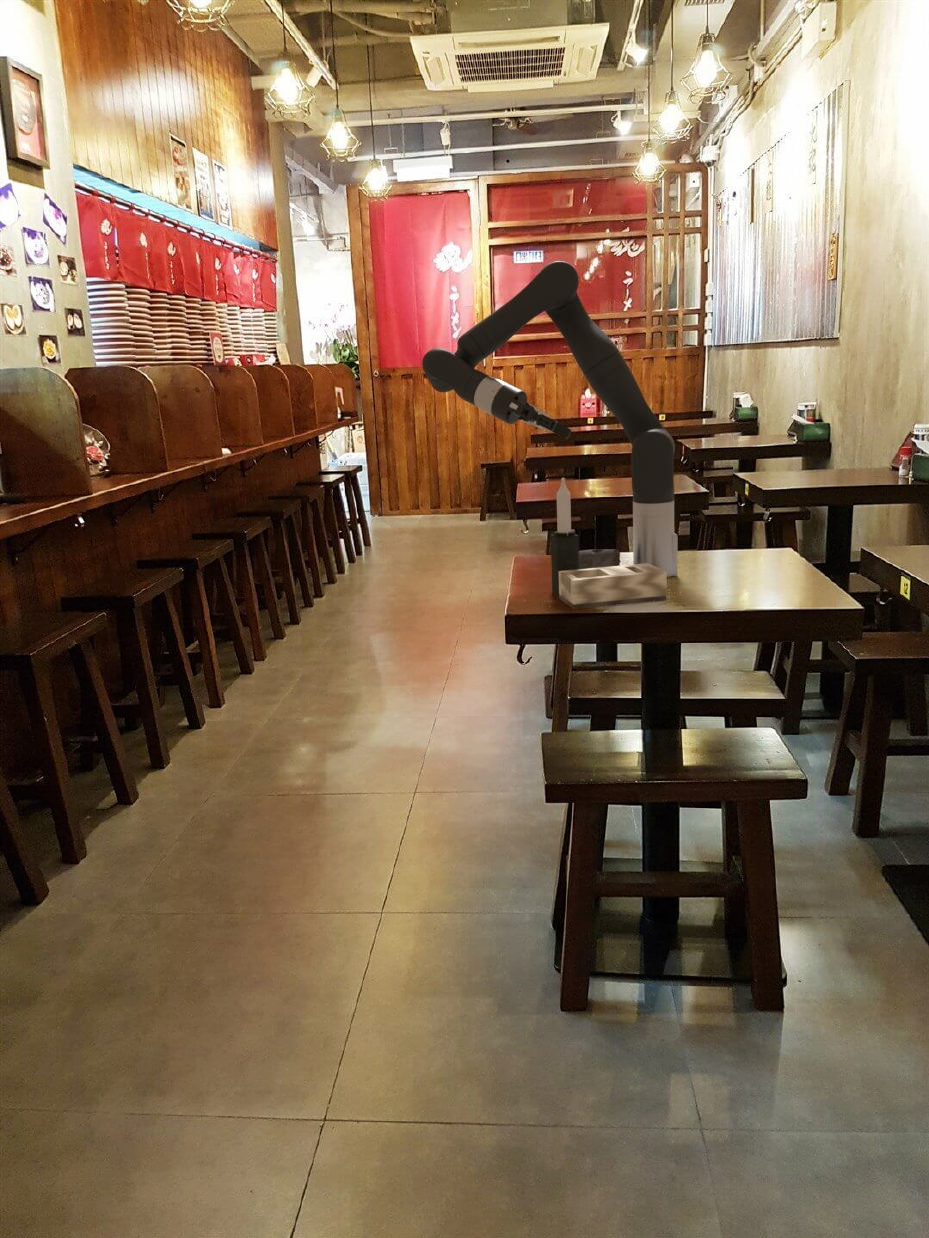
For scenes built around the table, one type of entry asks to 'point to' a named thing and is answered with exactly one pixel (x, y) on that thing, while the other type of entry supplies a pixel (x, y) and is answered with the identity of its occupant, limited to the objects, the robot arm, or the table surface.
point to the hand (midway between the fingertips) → (562, 430)
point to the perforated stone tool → (598, 558)
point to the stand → (612, 585)
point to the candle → (563, 539)
